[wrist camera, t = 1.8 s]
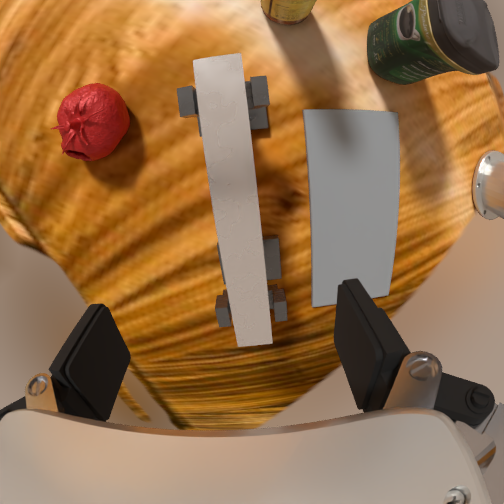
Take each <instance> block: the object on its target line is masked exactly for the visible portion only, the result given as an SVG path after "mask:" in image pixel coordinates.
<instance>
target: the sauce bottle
mask: <svg viewBox="0 0 504 504" xmlns="http://www.w3.org/2000/svg"><path fill="white" fill-rule="evenodd" d="M315 2H316V0H261V7H262V9H263V12H264V13H265V14H266V16H268V18H269V19H270V20H272V21H274V22H277V23H281V24H288V25H291V24H296V23H299V22H301V21H303V20H304V19H305V18H306V17H307V16H308V15H309V14H310V12H311V10H312V8H313V6H314V4H315Z"/></svg>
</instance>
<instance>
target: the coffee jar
mask: <svg viewBox="0 0 504 504" xmlns="http://www.w3.org/2000/svg"><path fill="white" fill-rule="evenodd" d="M367 55H368V62H369V65H370V67H371V68H372V70H373V71H374V72H375V73H376V74H377V75H378V76H380V77H382V78H384V79H386V80H389V81H391V82H394V83H397V84H403V85H406V84H411V83H414V82H418V81H421V80H423V79H426V78H429V77H432V76H435V75H438V74H442V73H446V72H450V71H461V72H463V73H466V74H471V75H479V74H482V73H486V72H490V71H493V70H496V69H497V68H498V66H499V51H498V44H497V37H496V32H495V27H494V23H493V20H492V17H491V15H490V12H489V10H488V8H487V4H486V3H485V1H483V0H412V1H411V2H409V3H408V4H406V5H404V6H402V7H400V8H398V9H396V10H394V11H393V12H391V13H389V14H387V15H384V16H383V17H381V18H379V19H377V20H376V21H374V22H373V23H371V24H370V26H369V29H368V35H367Z"/></svg>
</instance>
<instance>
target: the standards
mask: <svg viewBox="0 0 504 504" xmlns="http://www.w3.org/2000/svg"><path fill="white" fill-rule="evenodd" d="M245 89H246V97H247V106H248V114H249V122H250V130H253V129H263V128H268V122H267V113H266V107H268V106H269V105H270V102H269V94H268V85H267V77H266V76H257V77H250V81H247V82H245ZM177 95H178V103H179V111H180V117H184V118H189V117H197V118H198V126H199V133H200V137H201V136H202V132H201V124H200V116H199V109H198V101H197V92H196V89H195V88H194V87H193V86H187V87H182V88H178V89H177ZM262 240H263V249H264V259H265V269H266V279H267V280H272V279H281V264H280V250H279V238H278V235H273V236H264V237H262ZM217 248H218V254H219V259H220V265H221V270H222V275H223V281H224V284H226V282H225V276H224V271H223V265H222V259H221V254H220V248H219V242H218V243H217ZM267 289H268V299H269V309H274V315H275V322H278V321H287V304H286V297H285V293H284V289H278V288H277V284H275V285H267ZM215 310H216V315H217V319H218V323H219V327H226V326H231V319H232V313H231V308H230V303H229V298H228V292H227V289H226V290H223V295H217V299H216V305H215Z"/></svg>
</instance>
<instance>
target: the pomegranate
mask: <svg viewBox="0 0 504 504" xmlns="http://www.w3.org/2000/svg"><path fill="white" fill-rule="evenodd" d="M57 120H58V123H59V126H56V127H54V128H51V129H59V131H60V134H61V136H62V140H63V141H62V143H61V147H62V149H63V153H64V152H65V153H66V154H67V155H68V156H70V157H74V158H76V159H82V160H84V161H95V160H98V159H101V158H104V157H106V156H107V155H109V154H110V153H111V152H112V151H113V150H114V149H115V148H116V146H117V145H118V144H119V142H120V141H121V139H122V137H123V136H124V135H125V134H126V133H127V130H128V128H129V126H130V118H129V114H128V111H127V108H126V104H125V101H124V100H123V99H122V98H121V96H120V95H119V93H118V92H117V91H115V90H114V89H112V88H110V87H109V86H106V85H104V84H100V83H95V84H89V85H85V86H83V87H81V88H78V89H76V90H75V91H73V92H72V93H71V94H69V95H68V96H66V97H65V98H64V99H63V101H62V103H61V106H60V108H59V111H58V114H57ZM63 153H62V154H63Z"/></svg>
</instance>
